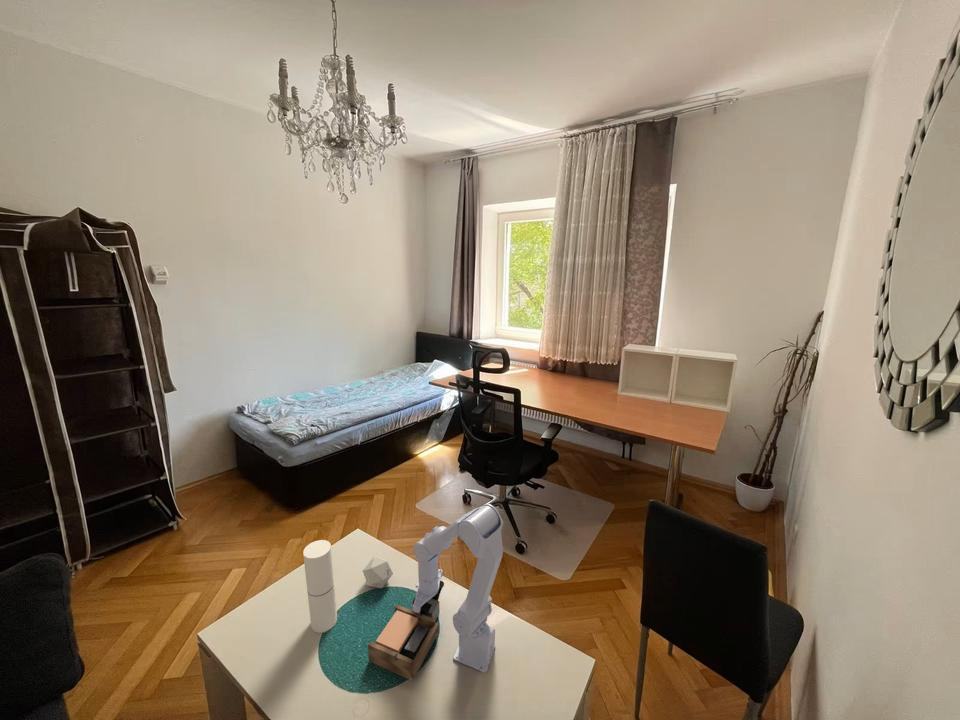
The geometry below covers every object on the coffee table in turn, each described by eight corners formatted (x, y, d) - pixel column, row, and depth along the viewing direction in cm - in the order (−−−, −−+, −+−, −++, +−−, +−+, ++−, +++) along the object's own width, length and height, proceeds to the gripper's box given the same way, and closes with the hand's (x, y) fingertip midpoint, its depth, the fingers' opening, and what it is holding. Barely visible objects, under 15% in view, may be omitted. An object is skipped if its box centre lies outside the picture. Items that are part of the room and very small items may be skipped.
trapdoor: (430, 630, 105) (430, 623, 104) (411, 664, 96) (411, 656, 95) (397, 617, 109) (397, 610, 108) (376, 648, 100) (375, 640, 99)
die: (368, 599, 119) (386, 577, 117) (352, 576, 122) (370, 554, 121) (384, 589, 126) (402, 568, 125) (369, 567, 130) (386, 546, 129)
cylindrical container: (305, 629, 108) (297, 555, 102) (321, 608, 114) (314, 538, 109) (327, 635, 106) (320, 560, 100) (342, 613, 113) (336, 542, 107)
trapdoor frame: (439, 635, 106) (438, 619, 105) (414, 682, 94) (413, 664, 93) (397, 619, 111) (396, 603, 110) (368, 661, 99) (367, 644, 98)
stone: (439, 613, 114) (439, 601, 113) (432, 626, 109) (432, 613, 108) (426, 608, 115) (426, 596, 114) (419, 620, 111) (418, 608, 110)
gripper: (428, 553, 117) (428, 589, 120) (402, 588, 104) (404, 628, 107) (448, 560, 114) (448, 596, 118) (425, 597, 101) (425, 637, 104)
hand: (428, 612), depth 112 cm, fingers open, 5 cm apart
